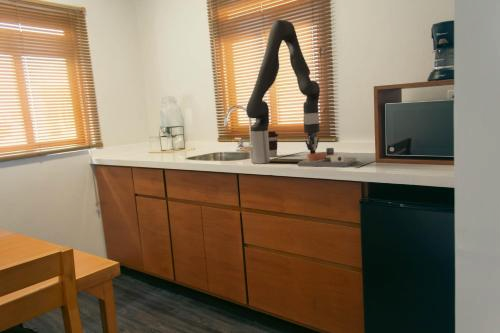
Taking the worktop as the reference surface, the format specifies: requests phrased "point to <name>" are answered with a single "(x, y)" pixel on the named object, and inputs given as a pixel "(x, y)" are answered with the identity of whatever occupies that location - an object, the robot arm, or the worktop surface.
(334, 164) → the stand base
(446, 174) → the worktop surface
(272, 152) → the coffee cup
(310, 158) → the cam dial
